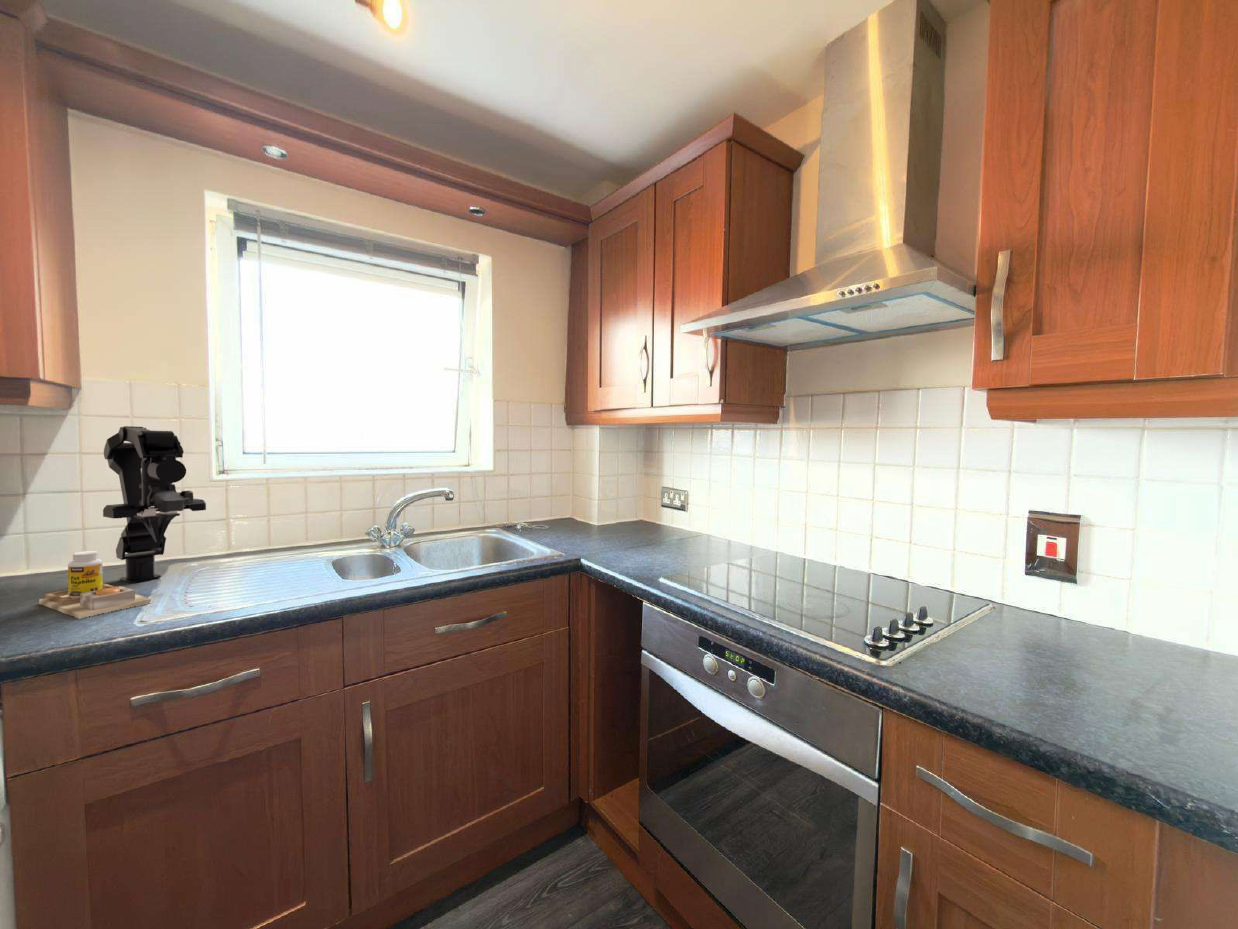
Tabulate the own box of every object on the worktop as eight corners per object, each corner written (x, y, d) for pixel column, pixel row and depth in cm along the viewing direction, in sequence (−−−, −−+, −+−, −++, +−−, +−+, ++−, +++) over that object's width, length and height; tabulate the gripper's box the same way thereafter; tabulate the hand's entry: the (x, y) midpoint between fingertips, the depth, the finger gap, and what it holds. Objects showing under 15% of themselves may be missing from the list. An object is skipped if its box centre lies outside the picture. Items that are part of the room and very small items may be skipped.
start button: (92, 599, 113) (92, 590, 113) (115, 595, 117) (114, 586, 117) (100, 602, 112) (100, 593, 112) (123, 597, 115) (123, 589, 115)
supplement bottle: (64, 600, 115) (64, 556, 114) (72, 594, 120) (71, 551, 119) (99, 597, 118) (98, 553, 118) (105, 591, 123) (105, 549, 122)
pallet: (39, 603, 116) (38, 588, 115) (109, 590, 126) (108, 576, 126) (79, 618, 107) (79, 602, 107) (150, 603, 118) (150, 587, 118)
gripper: (124, 484, 116) (125, 552, 117) (217, 480, 133) (218, 539, 133) (101, 481, 120) (102, 547, 121) (194, 477, 137) (194, 534, 138)
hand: (157, 541), depth 128 cm, fingers closed
